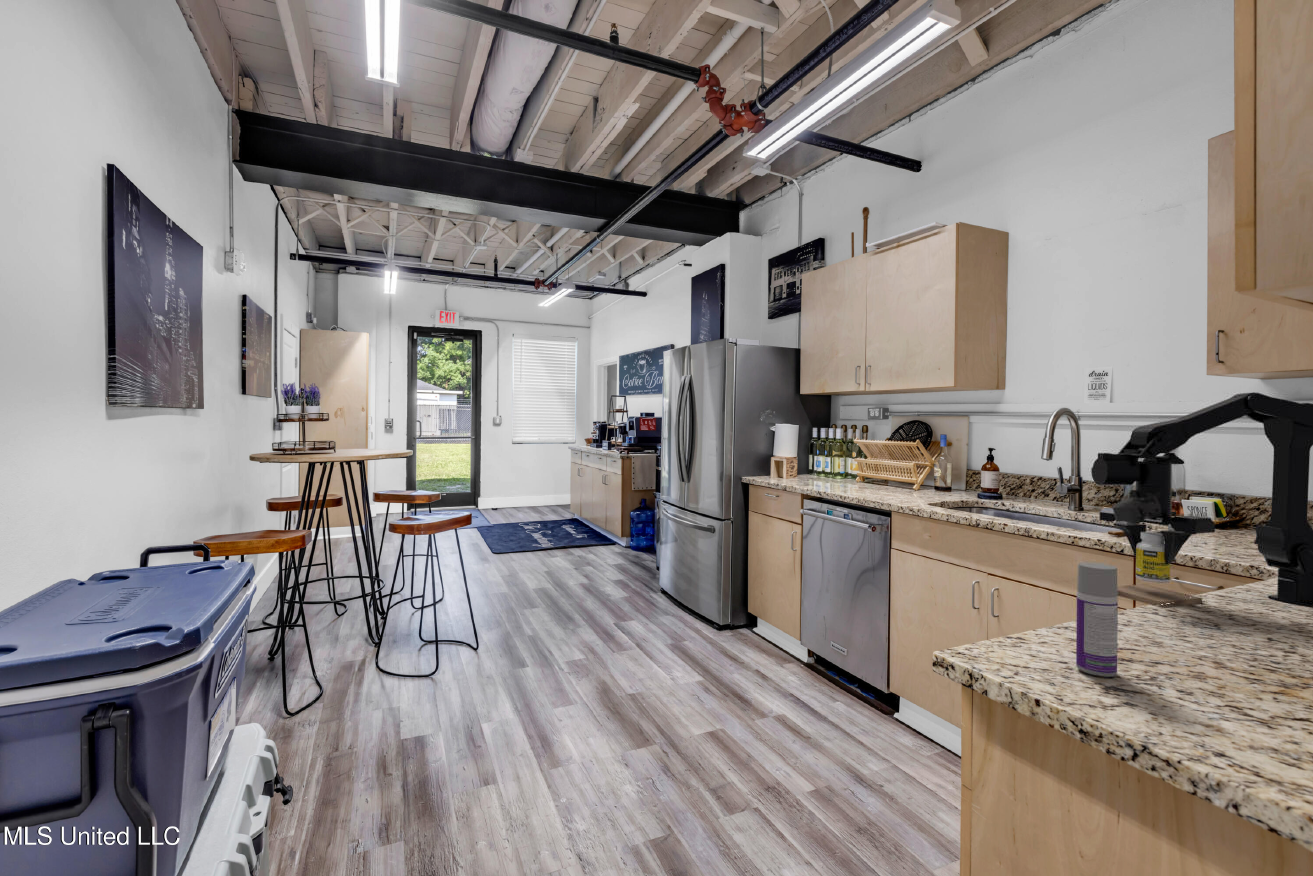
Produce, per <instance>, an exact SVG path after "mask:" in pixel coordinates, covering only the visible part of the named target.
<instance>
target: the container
mask: <svg viewBox="0 0 1313 876" xmlns="http://www.w3.org/2000/svg"><path fill="white" fill-rule="evenodd" d="M1117 586H1118V567H1117V566H1115V565H1111V564H1106V563H1099V562H1089V561H1088V562H1087V561H1084V562H1083V561H1081V562H1078V565H1077V586H1076V587H1077V588H1076V590H1077V591H1076V636H1075V637H1076V641H1075V642H1076V648H1075V649H1076V650H1075V656H1076V657H1075V658H1076V660H1075V661H1076V662H1075V663H1076V665H1075V666H1076V668H1077V669H1078V670H1080V671H1082V672H1084V673H1087V674H1091V675H1094V676H1099V677H1106V678H1107V677H1108V678H1110V677H1115V676H1117V675H1118V632H1119V631H1118V623H1119V622H1118V621H1119V620H1118V614H1119V613H1118V610H1119V602H1118V601H1119V600H1118V599H1119V596H1118V591H1117Z"/></svg>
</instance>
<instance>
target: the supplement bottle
mask: <svg viewBox="0 0 1313 876" xmlns="http://www.w3.org/2000/svg"><path fill="white" fill-rule="evenodd" d="M1141 539H1142V542H1139V543H1138V544H1137V545H1136V557H1135V561H1136V562H1135V577H1136V579H1138V580H1140V581H1144V582H1149V583H1157V584H1166V583H1170V579H1171V564H1166V563H1165V557H1164V554H1165V538H1164V536H1163V535H1162V533H1161V532H1154V531H1146V532H1141Z"/></svg>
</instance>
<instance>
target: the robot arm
mask: <svg viewBox="0 0 1313 876" xmlns="http://www.w3.org/2000/svg"><path fill="white" fill-rule="evenodd" d="M1243 417H1246V418H1248V419H1249V420H1251V421H1254V422H1257V423H1260V424H1263V430H1264V435H1265V437H1267V439H1268V441H1269V443H1270V444H1271V445H1272V447H1273V462H1272V463H1273V465H1272V466H1273V467H1272V484H1271V485H1272V486H1271V487H1272V491H1271V513H1270V514H1271V515H1270V519H1269V520H1268V521H1267V522H1266V523H1265V524H1264V525H1262V524H1256V526H1255V534H1256V536H1255V537H1256V538H1255V540H1254V543H1253V544H1254V545H1257V550H1258V552H1259V554H1261V555H1262V556H1263V557H1264V560H1265V562H1266V566H1268V567H1273V568H1277V589H1276V592H1277V593H1276V594H1271V595H1270V594H1269V595H1267V598H1268V599H1271V600H1276V601H1281V602H1285V603H1289V604H1294V605H1299V606H1304V607H1309V608H1311V607H1313V527H1312V526H1311V525H1310V523H1309V521H1308V508H1309V507H1308V506H1309V482H1310V480H1309V479H1310V463H1311V462H1310V459H1311V457H1310V456H1311V449H1312V447H1313V403H1310V402H1303V403H1301V402H1297V401H1293V400H1287V399H1282V398H1277V397H1273V396H1269V395H1266V394H1263V393H1260V392H1244V393H1237V394H1235V395H1232V396H1231V397H1230V398H1227V399H1224V400H1222V401H1219V402H1217V403H1213V404H1212V405H1211V404H1210V405H1209V406H1207V407H1204V408H1201V409H1199V410H1196V411H1194V412H1191V413H1188V414H1185V415H1183V416H1181V417H1179V418H1176V419H1170V420H1165V421H1159V422H1154V423H1149V424H1145V425H1144V424H1143V425H1139V426H1137V427H1136V428H1134V429H1133V430H1132V431H1131V434H1130V437H1129V438H1130V439H1129V440H1127V442H1126V443H1125V445H1124V446H1122V448H1121V449H1120V450H1119V452H1118V453H1110V452H1098V453H1097V458H1096V459H1095V460H1094V462H1093V465H1092V467H1091V478H1092V480H1093V481H1094V483H1095V484H1096V485H1098V486H1132V485H1134V484H1135V489H1130V492H1129V497H1128V498H1127V499H1126V498H1125V499H1124V500H1121V501H1119V502H1117V503H1116V504H1113V505H1112V506H1110V507H1102V508H1101V510H1100V511H1099V520H1100V521H1102V522H1103V521H1104V522H1110V523H1112V524H1113V526H1114V527H1116V528H1118V529H1120V530H1121V532H1123V533H1124V535H1125V537H1126V538H1127V540H1128V543H1129V545H1130V548H1131V550H1132V552H1133V555H1134V557H1135V558H1136V545H1137V544H1138V543H1139V542H1142V539H1141V532H1147V524H1152V525H1160V526H1167V528H1168V529H1167V530H1160V532H1159V533H1162V535H1163V536H1164V538H1165V542H1164V544H1165V554H1164V557H1165V563H1166V564H1170V565H1171V564H1172V563H1173V561H1174V560H1175V559H1176V557H1177V555H1178V554H1179V552H1180V551H1181V549H1182V547H1183V546H1184V545H1185V543H1186V542H1187V541H1188V540H1189V538H1191V536H1193V535H1195V536H1196V535H1197V534H1209V533H1211V534H1212V533H1213V534H1214V533H1215V532H1216V524H1215V522H1214V521H1213V520H1212V518H1211V517H1206V516H1197V515H1177V511H1176V510H1172V505H1173V504H1172V498H1173V497H1177V491H1174V490H1173V489H1172V486H1173V483H1172V482H1173V479H1172V477H1173V476H1172V475H1173V474H1172V472H1173V471H1172V470H1173V467H1172V466H1173V465H1183V464H1185V461H1184V459H1182V458H1180V457H1178V456H1177V455H1176V453H1175V452H1174V451H1175V450H1176V449H1178V448H1180V447H1182V446H1183V445H1185V444H1186V443H1187V442H1188V441H1189V440H1190V439H1191V438H1193V437H1195V436H1196V435H1199V434H1200V433H1203V432H1207V431H1209V430H1212V429H1214V428H1217V427H1219V426H1222V425H1225V424H1228V423H1230V422H1233V421H1235V420H1237V419H1240V418H1243ZM1161 454H1163V455H1161ZM1139 459H1143V460H1139ZM1113 522H1115V523H1113Z"/></svg>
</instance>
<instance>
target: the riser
mask: <svg viewBox="0 0 1313 876" xmlns="http://www.w3.org/2000/svg"><path fill="white" fill-rule="evenodd" d="M1117 591H1118V597H1121V598H1126V599H1128V600H1133V601H1137V602H1139V603H1143V604H1147V605H1151V606H1154V605H1159V606H1157V607H1158V608H1166V607H1167V608H1168V607H1177V606H1185V605H1193V604H1203V597H1199V596H1194V595H1190V594H1187V593H1182V592H1178V591H1174V590H1169V589H1165V588H1162V587H1157V586H1153V585H1149V584H1146V583H1145V584H1144V583H1142V584H1131V585H1129V584H1128V585H1119V586H1118V585H1117ZM1190 597H1191V598H1190ZM1172 602H1174V603H1172ZM1166 603H1170V604H1166ZM1161 604H1163V605H1161Z"/></svg>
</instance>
